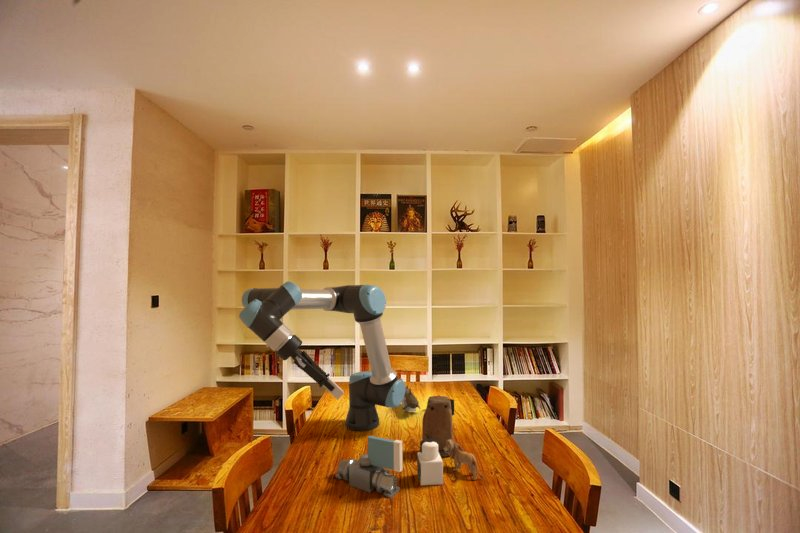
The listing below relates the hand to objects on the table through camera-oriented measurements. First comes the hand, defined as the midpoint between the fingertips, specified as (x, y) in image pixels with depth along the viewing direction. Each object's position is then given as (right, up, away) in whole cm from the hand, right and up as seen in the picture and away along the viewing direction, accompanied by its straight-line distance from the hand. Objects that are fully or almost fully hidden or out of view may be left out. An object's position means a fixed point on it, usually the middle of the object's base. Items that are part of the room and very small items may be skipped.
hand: (340, 395), depth 112 cm
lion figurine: (+39, -29, +9) cm, 49 cm away
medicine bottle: (+28, -28, +4) cm, 40 cm away
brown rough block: (+32, -29, +22) cm, 49 cm away
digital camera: (+40, -32, +67) cm, 84 cm away
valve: (+8, -28, +2) cm, 29 cm away
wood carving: (+22, -33, +74) cm, 84 cm away
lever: (+12, -22, 0) cm, 25 cm away
